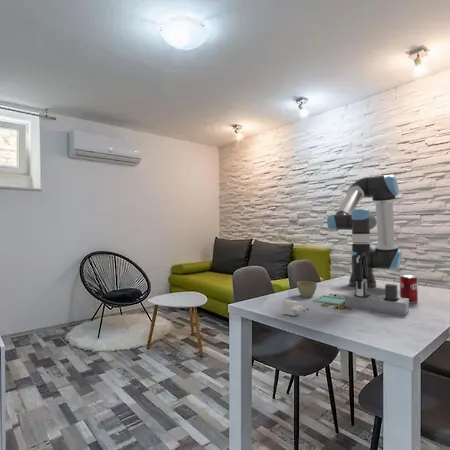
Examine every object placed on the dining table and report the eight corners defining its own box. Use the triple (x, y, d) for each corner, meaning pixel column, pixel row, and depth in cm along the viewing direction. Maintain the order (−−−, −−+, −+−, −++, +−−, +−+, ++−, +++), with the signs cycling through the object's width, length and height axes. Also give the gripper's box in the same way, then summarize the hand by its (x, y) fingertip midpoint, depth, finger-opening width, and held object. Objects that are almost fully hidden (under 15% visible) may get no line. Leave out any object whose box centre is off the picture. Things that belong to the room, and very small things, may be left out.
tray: (322, 296, 164) (322, 294, 164) (348, 300, 156) (348, 298, 156) (313, 301, 153) (312, 300, 153) (340, 305, 146) (340, 303, 146)
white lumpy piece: (310, 317, 128) (310, 302, 128) (304, 320, 125) (303, 305, 125) (287, 312, 136) (287, 298, 136) (281, 314, 133) (280, 300, 133)
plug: (358, 302, 146) (358, 281, 146) (367, 304, 144) (367, 282, 144) (356, 304, 143) (355, 282, 143) (365, 306, 141) (365, 283, 141)
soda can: (398, 301, 151) (398, 276, 151) (402, 299, 157) (402, 274, 157) (415, 304, 146) (415, 278, 146) (419, 301, 152) (419, 276, 152)
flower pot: (309, 300, 157) (309, 285, 157) (293, 296, 165) (293, 283, 165) (320, 296, 164) (320, 283, 164) (304, 293, 171) (304, 280, 171)
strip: (356, 298, 159) (356, 276, 159) (411, 305, 145) (411, 281, 145) (345, 307, 143) (344, 282, 143) (405, 315, 129) (405, 288, 129)
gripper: (357, 242, 153) (358, 290, 153) (346, 244, 138) (347, 297, 138) (374, 242, 148) (375, 291, 149) (364, 244, 134) (365, 299, 134)
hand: (361, 294), depth 143 cm, fingers open, 5 cm apart
